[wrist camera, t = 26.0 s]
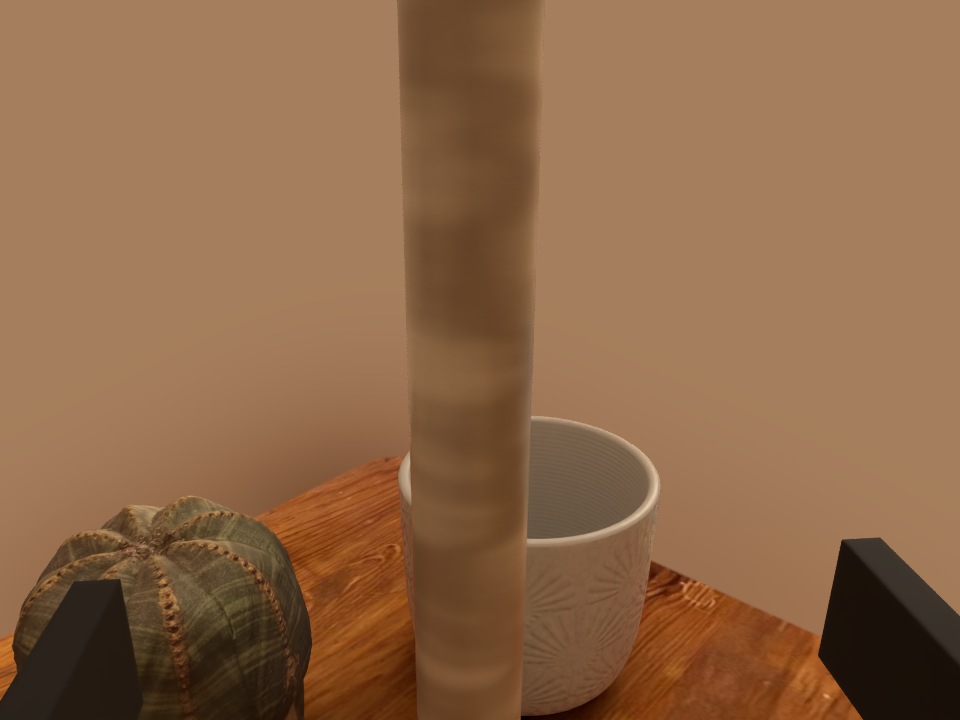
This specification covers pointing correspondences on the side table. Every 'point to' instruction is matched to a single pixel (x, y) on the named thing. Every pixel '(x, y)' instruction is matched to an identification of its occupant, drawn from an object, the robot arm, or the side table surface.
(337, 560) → the side table surface
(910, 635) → the robot arm
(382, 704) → the side table surface
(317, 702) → the side table surface
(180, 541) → the brown ribbed round dome
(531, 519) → the planter
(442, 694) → the paper towel holder
